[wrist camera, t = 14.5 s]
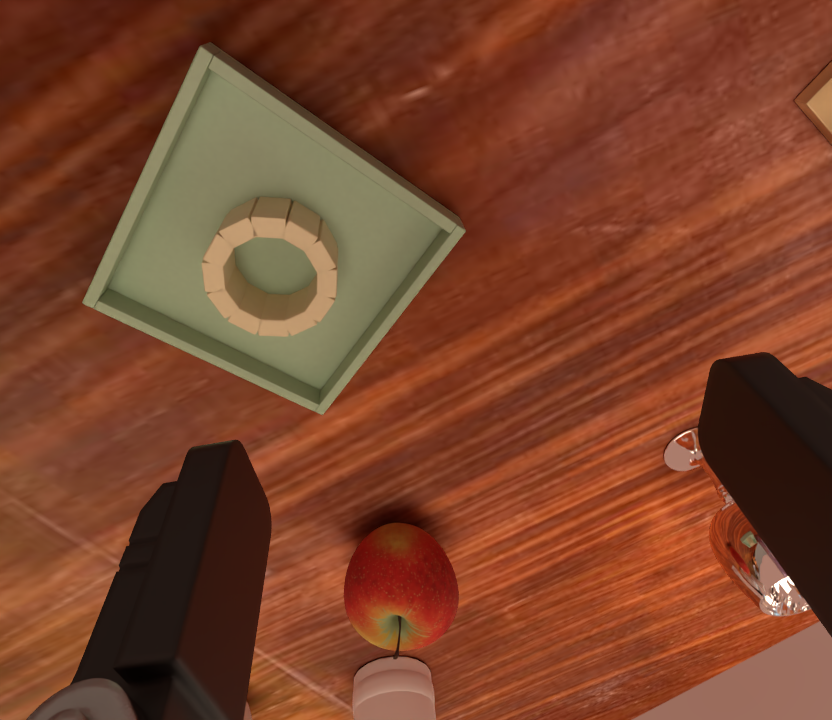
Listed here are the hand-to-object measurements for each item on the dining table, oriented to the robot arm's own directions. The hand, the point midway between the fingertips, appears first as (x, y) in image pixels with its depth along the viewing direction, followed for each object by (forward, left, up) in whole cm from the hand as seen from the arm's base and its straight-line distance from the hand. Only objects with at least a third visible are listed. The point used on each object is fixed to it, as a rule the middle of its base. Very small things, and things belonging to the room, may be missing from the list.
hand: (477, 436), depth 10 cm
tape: (-2, -8, -21) cm, 23 cm away
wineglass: (+31, -5, -22) cm, 38 cm away
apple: (+17, -24, -22) cm, 37 cm away
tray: (-2, -8, -22) cm, 23 cm away
